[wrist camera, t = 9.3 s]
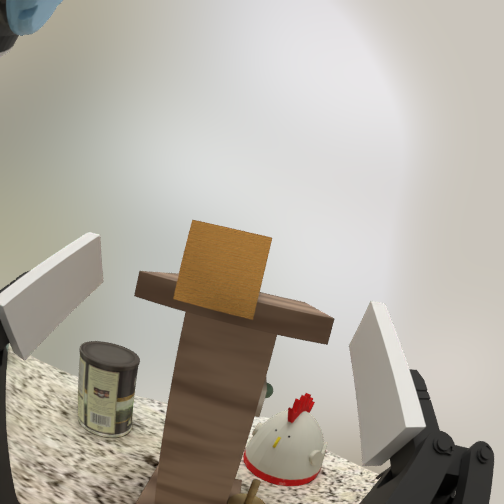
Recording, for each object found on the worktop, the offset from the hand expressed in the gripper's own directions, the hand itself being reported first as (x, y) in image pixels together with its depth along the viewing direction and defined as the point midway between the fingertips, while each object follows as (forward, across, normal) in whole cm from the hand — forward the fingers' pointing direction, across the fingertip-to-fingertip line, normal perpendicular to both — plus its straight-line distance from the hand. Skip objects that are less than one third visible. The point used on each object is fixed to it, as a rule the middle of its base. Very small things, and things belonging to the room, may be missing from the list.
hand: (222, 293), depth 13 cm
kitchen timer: (+11, -13, +42) cm, 46 cm away
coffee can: (+8, +19, +40) cm, 46 cm away
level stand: (-2, 0, +34) cm, 34 cm away
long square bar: (+9, 0, +6) cm, 11 cm away
